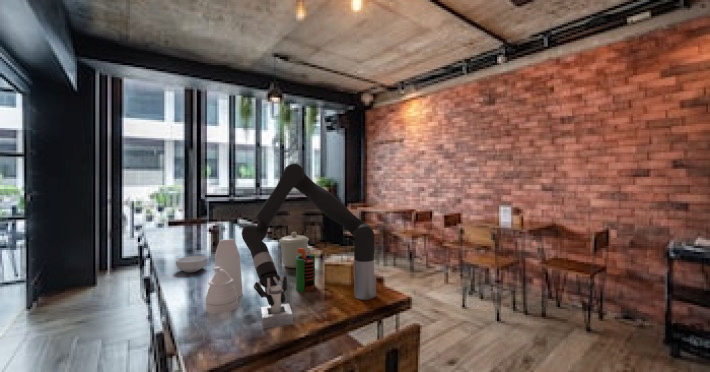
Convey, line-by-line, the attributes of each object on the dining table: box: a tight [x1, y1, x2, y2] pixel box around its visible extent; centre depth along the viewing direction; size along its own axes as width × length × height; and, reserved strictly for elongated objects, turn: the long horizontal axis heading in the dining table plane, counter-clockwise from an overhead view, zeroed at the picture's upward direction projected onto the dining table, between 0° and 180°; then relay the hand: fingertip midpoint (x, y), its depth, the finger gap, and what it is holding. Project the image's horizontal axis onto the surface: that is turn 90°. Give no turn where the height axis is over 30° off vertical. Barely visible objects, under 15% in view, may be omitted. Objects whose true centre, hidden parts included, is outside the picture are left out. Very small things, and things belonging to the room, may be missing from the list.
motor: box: [295, 248, 316, 293], centre depth 171 cm, size 10×9×20 cm
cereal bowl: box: [175, 255, 208, 273], centre depth 206 cm, size 17×17×7 cm
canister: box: [278, 231, 310, 269], centre depth 213 cm, size 18×18×21 cm
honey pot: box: [204, 266, 239, 315], centre depth 148 cm, size 13×13×18 cm
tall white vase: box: [214, 238, 244, 297], centre depth 166 cm, size 12×12×26 cm
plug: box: [270, 285, 282, 314], centre depth 135 cm, size 4×4×11 cm
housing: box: [260, 303, 294, 329], centre depth 135 cm, size 11×11×4 cm
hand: (278, 303), depth 133 cm, fingers closed on plug, 4 cm apart
